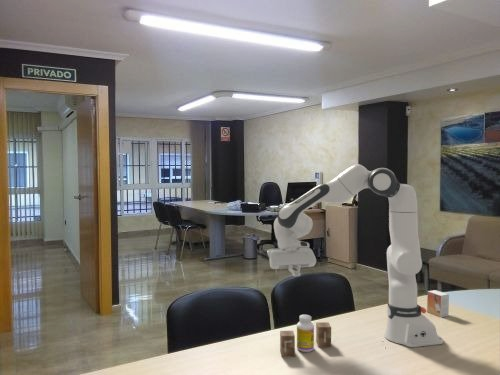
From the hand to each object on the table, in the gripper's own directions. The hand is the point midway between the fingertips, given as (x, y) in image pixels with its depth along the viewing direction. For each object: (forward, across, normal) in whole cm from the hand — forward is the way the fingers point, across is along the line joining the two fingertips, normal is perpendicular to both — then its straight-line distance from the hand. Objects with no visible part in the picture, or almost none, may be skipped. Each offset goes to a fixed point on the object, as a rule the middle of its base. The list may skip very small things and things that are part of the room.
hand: (296, 275), depth 170 cm
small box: (+13, +75, +24) cm, 80 cm away
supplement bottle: (+27, -1, +10) cm, 29 cm away
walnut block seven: (+28, -9, +8) cm, 31 cm away
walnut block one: (+25, +8, +12) cm, 29 cm away
